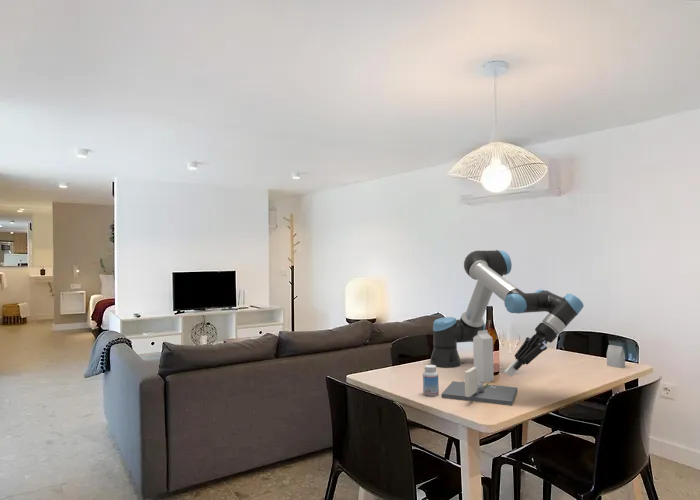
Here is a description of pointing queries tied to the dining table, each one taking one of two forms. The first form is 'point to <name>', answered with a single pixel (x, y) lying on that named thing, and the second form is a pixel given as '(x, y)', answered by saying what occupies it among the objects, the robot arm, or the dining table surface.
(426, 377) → the pill bottle
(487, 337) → the milk
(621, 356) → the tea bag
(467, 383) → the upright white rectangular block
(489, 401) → the dark grey flat slab
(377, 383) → the dining table surface
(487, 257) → the robot arm
